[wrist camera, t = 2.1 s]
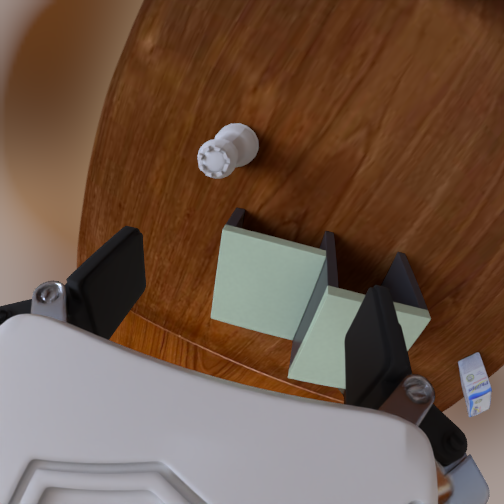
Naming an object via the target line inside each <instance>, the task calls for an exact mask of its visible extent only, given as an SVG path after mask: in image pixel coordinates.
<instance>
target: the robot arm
mask: <svg viewBox="0 0 504 504" xmlns="http://www.w3.org/2000/svg"><path fill="white" fill-rule="evenodd" d="M145 287H146V278H145V266H144V251H143V235H142V233H140V231H139V229H138V228H133V227H129V226H125V227H123V228H122V229H121V230H120V231H119V232H118V233H116V234H115V235H114V236H113V237H112V238H111V239H109V240H108V241H107V242H106V243H105V244H104V245H103V246H102V247H100V248H99V249H98V250H97V251H96V252H95V253H94V254H93V255H92V256H90V257H89V258H88V259H87V260H86V261H85V262H84V263H83V264H82V265H81V266H80V267H79V268H78V269H76V270H75V271H74V272H73V273H72V274H71V275H70V276H69V277H68V278H67V283H66V285H63V284H62V283H60V282H59V281H48V282H45V283H43V284H41V285H39V286H38V287H37V288H36V289H35V291H34V292H33V296H32V299H30V300H26V301H21V302H17V303H13V304H8V305H4V306H0V504H486V503H487V501H488V499H489V487H488V485H487V483H486V481H485V479H484V478H483V476H482V474H481V472H480V470H479V469H478V467H477V465H476V463H475V462H474V460H473V458H472V456H471V455H468V456H467V455H466V450H467V439H466V437H465V435H464V433H463V432H462V431H461V430H460V429H459V428H458V427H457V426H456V425H455V424H454V423H453V422H452V421H451V420H450V419H449V418H448V417H446V416H445V415H444V414H443V413H442V412H441V411H440V410H439V409H438V408H437V407H436V406H435V405H434V404H433V402H434V399H435V391H434V388H433V386H432V384H431V383H430V382H429V381H428V380H427V379H426V378H425V377H423V376H421V375H418V374H412V371H411V366H410V361H409V357H408V352H407V348H406V343H405V339H404V335H403V331H402V327H401V325H400V324H399V322H398V318H397V314H396V310H395V307H394V303H393V299H392V296H391V292H390V289H389V288H388V287H384V286H379V285H375V286H374V287H373V288H372V287H370V288H369V289H368V291H367V293H366V295H365V297H364V299H363V302H362V304H361V306H360V308H359V310H358V312H357V314H356V316H355V318H354V320H353V322H352V324H351V326H350V327H349V329H348V331H347V333H346V336H345V341H344V345H345V385H346V405H345V404H339V403H332V402H326V401H321V400H315V399H310V398H304V397H298V396H293V395H288V394H283V393H278V392H274V391H269V390H265V389H260V388H256V387H252V386H248V385H244V384H240V383H236V382H232V381H228V380H224V379H221V378H217V377H214V376H210V375H207V374H203V373H200V372H197V371H193V370H190V369H187V368H184V367H181V366H178V365H175V364H171V363H169V362H166V361H163V360H160V359H157V358H154V357H151V356H148V355H146V354H143V353H140V352H138V351H135V350H132V349H130V348H127V347H125V346H122V345H120V344H117V343H115V342H112V341H110V340H109V339H110V337H111V336H112V335H113V333H114V332H115V330H116V329H117V327H118V326H119V325H120V323H121V322H122V321H123V319H124V318H125V316H126V315H127V314H128V312H129V311H130V310H131V308H132V307H133V305H134V304H135V303H136V301H137V300H138V299H139V297H140V296H141V295H142V293H143V292H144V290H145Z"/></svg>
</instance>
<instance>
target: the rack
mask: <svg viewBox="0 0 504 504" xmlns="http://www.w3.org/2000/svg"><path fill="white" fill-rule="evenodd" d="M244 214H245V210H244V209H240V208H236V209H235V211H234V213H233V214H232V216H231V217H230V219H229V220H228V222H227V223H226V225H225V227H224V228H223V230H222V237H221V244H220V251H219V258H218V265H217V273H216V280H215V288H214V296H213V304H212V312H211V318H212V319H215V320H219V321H222V322H226V323H229V324H233V325H236V326H240V327H243V328H247V329H251V330H254V331H258V332H262V333H266V334H270V335H274V336H278V337H282V338H286V339H290V340H293V345H292V352H291V359H290V366H289V373H288V378H291V379H295V380H300V381H305V382H310V383H315V384H320V385H325V386H331V387H337V388H343V389H346V385H345V345H344V341H345V336H346V333H347V331H348V329H349V327H350V326H351V324H352V322H353V320H354V318H355V316H356V314H357V312H358V310H359V308H360V306H361V304H362V302H363V299H364V297H365V295H364V294H360V293H356V292H352V291H348V290H344V289H340V288H339V286H338V272H337V260H336V249H335V239H334V233H332V232H328V231H325V234H324V237H323V240H322V243H321V245H320V248H319V249H318V248H314V247H311V246H307V245H303V244H299V243H296V242H292V241H288V240H284V239H280V238H277V237H273V236H269V235H265V234H261V233H257V232H253V231H250V230H246V229H242V225H243V219H244ZM381 286H384V287H388V288H389V289H390V292H391V296H392V299H393V303H394V307H395V310H396V314H397V318H398V322H399V324H400V325H401V327H402V331H403V335H404V339H405V343H406V348H407V351H408V350H409V349H410V347H411V346H412V345H413V343H414V342H415V341H416V339H417V338H418V337H419V335H420V334H421V333H422V331H423V330H424V328H425V327H426V326H427V324H428V323H429V321H430V320H431V317H430V314H429V312H428V309H427V306H426V304H425V301H424V298H423V296H422V293H421V291H420V288H419V286H418V283H417V281H416V278H415V276H414V274H413V271H412V269H411V267H410V264H409V262H408V260H407V258H406V255H405V254H404V253H400V252H398V253H397V255H396V257H395V259H394V261H393V263H392V265H391V267H390V269H389V271H388V273H387V275H386V277H385V279H384V281H383V283H382V285H381Z"/></svg>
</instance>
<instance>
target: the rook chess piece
mask: <svg viewBox="0 0 504 504" xmlns="http://www.w3.org/2000/svg"><path fill="white" fill-rule="evenodd" d="M258 149H259V144H258V138H257V136H256V134H255V132H254V131H253V130H252V129H250V128H249V127H248V126H246V125H243V124H240V123H236V124H230V125H227V126H225V127H223V128H222V129H221V130H220V131H219V132H218V133H217V135H216V137H215V140H210V141H208V142H206V143H204V144H203V145H202V147H201V148H200V149H199V152H198V156H197V157H198V159H197V160H198V164H199V165H198V166H199V168H200V170H201V171H203V172H204V173H205V174H206V176H209V177H212V178H224V177H226V176H228V175H230V174H231V173H232V171H233V170H234V169H235V167H241V166H244V165H246V164H248V163H249V162H251V161H252V160H253V159H254V158H255V157H256V154H257V152H258Z"/></svg>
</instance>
